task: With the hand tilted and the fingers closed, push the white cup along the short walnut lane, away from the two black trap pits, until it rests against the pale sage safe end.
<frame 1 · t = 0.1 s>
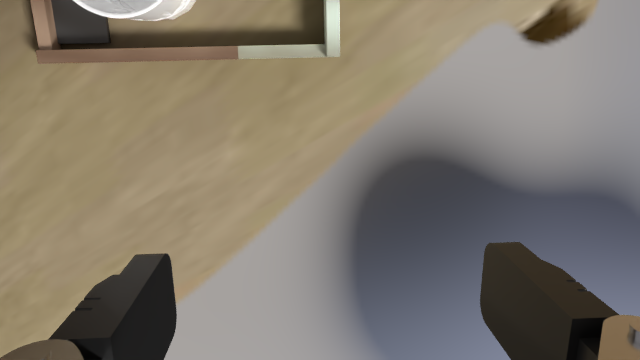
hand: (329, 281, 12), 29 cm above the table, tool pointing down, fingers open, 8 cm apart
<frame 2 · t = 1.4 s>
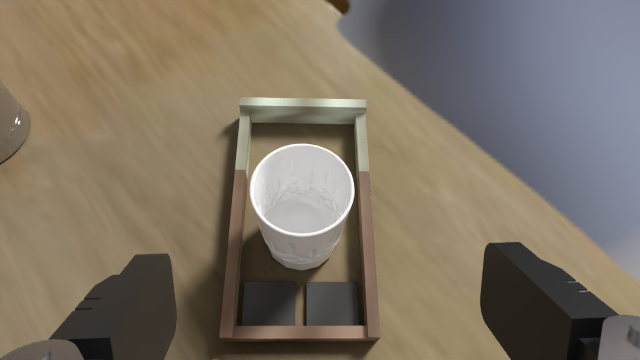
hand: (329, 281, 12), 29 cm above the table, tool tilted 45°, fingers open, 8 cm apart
white cup: (301, 237, 43), resting in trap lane
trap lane: (301, 216, 44), on the table
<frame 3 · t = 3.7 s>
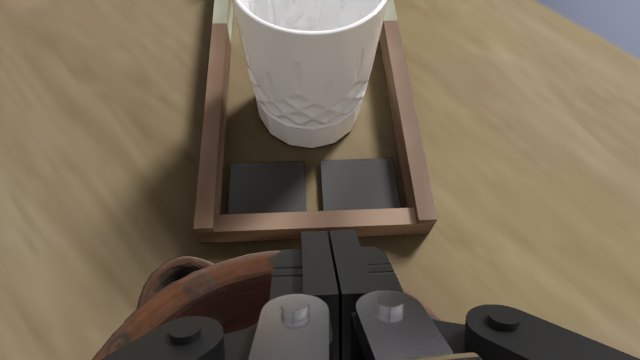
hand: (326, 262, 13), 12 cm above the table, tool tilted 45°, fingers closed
white cup: (309, 109, 31), resting in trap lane
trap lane: (308, 84, 32), on the table
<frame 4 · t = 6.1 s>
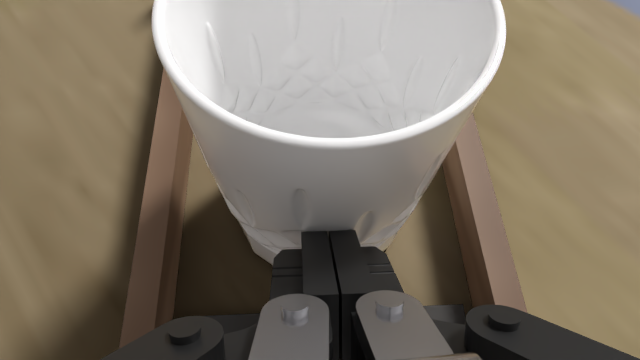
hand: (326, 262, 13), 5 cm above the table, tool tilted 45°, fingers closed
white cup: (318, 204, 19), resting in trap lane, touching gripper
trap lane: (316, 162, 20), on the table
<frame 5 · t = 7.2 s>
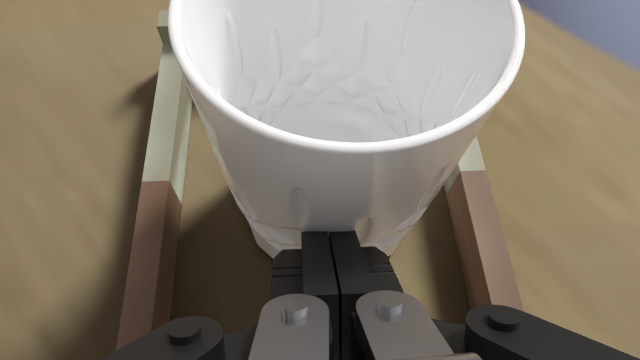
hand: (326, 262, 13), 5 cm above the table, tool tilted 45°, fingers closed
white cup: (327, 204, 19), resting in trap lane, touching gripper
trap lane: (321, 295, 17), on the table
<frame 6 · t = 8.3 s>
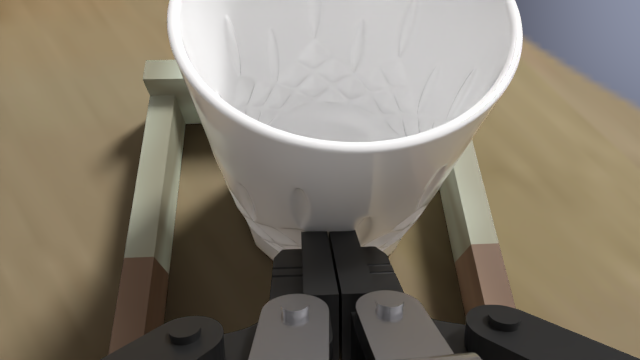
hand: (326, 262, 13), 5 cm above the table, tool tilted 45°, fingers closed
white cup: (325, 204, 19), resting in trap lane, touching gripper
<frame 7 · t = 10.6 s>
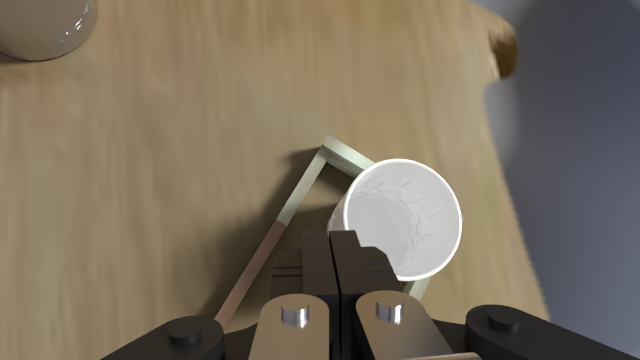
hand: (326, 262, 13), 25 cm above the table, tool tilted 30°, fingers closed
white cup: (363, 238, 39), resting in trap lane
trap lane: (317, 307, 36), on the table
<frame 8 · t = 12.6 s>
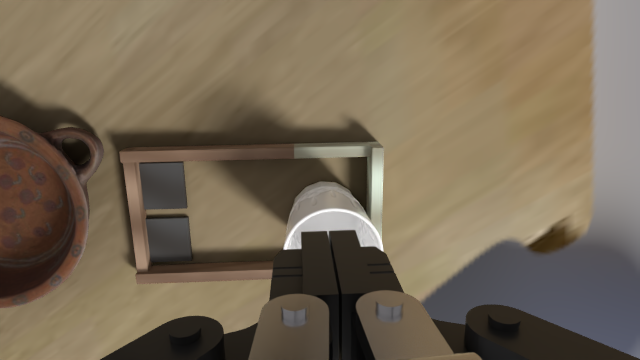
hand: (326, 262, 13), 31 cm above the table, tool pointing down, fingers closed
white cup: (324, 212, 45), resting in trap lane
dish: (15, 198, 43), on the table
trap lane: (255, 209, 45), on the table
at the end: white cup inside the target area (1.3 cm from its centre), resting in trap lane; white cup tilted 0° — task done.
